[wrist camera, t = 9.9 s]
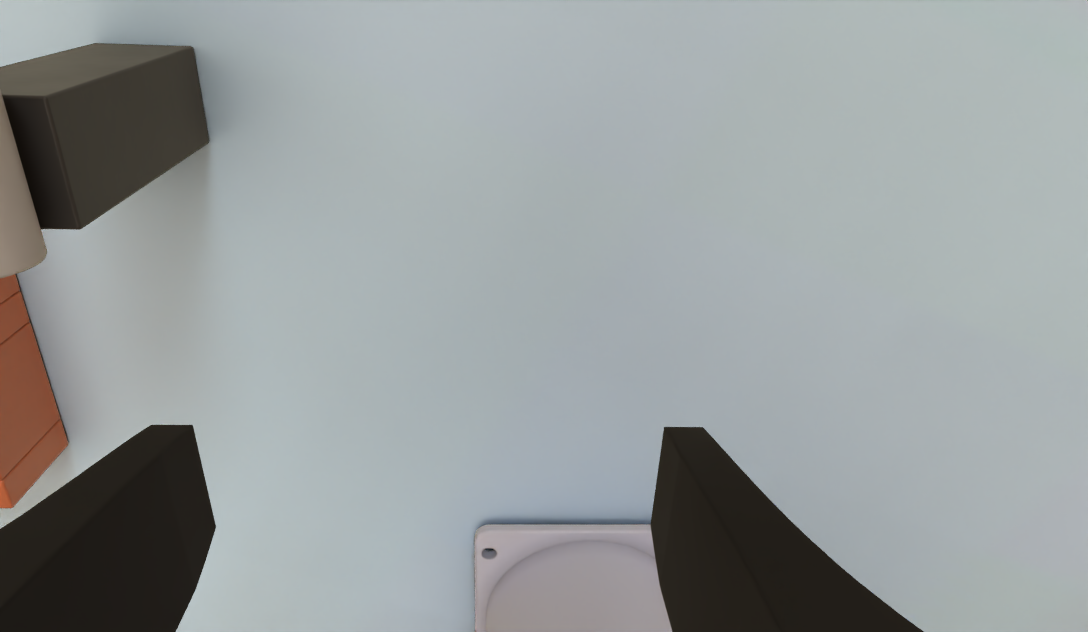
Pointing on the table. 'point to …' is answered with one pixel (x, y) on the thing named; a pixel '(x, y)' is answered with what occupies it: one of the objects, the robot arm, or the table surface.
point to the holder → (23, 402)
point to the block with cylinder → (89, 136)
